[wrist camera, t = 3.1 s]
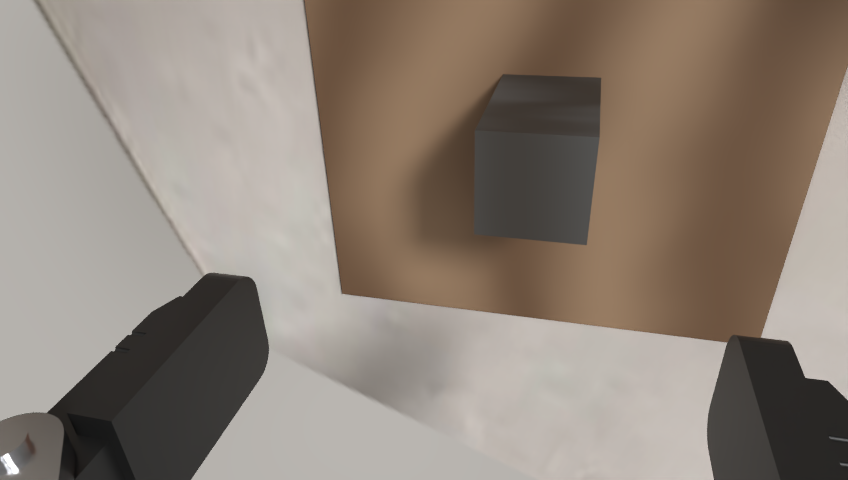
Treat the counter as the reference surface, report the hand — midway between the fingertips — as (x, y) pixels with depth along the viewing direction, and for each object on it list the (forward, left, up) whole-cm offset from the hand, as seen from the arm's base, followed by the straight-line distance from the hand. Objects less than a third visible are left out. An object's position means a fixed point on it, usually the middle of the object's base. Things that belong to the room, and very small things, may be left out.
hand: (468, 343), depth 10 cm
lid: (0, 0, -12) cm, 12 cm away
